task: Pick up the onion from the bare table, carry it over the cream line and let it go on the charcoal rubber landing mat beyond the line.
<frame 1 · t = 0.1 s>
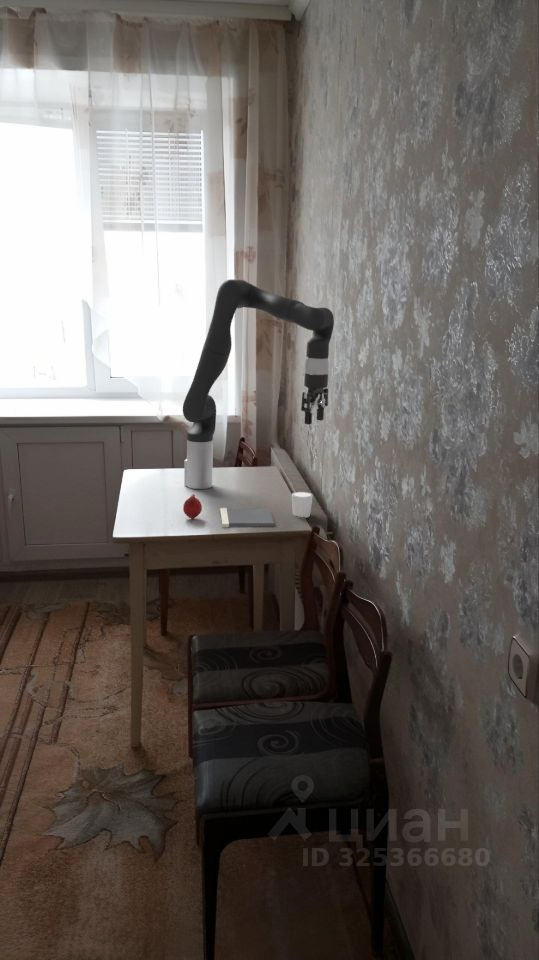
hand: (314, 422, 242), 29 cm above the table, tool pointing down, fingers open, 8 cm apart
onion: (192, 519, 235), on the table
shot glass: (301, 515, 243), on the table
landing mat: (246, 518, 237), on the table
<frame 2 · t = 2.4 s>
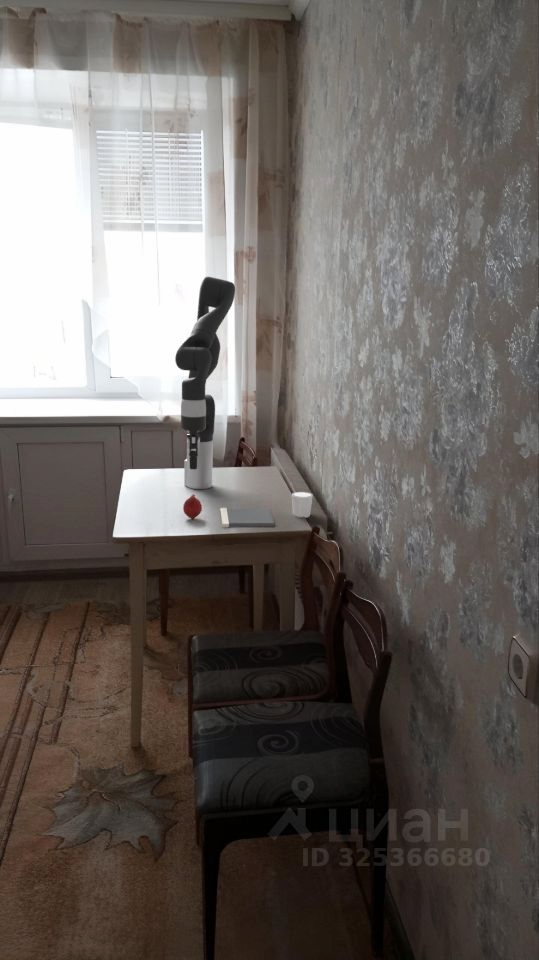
hand: (193, 465, 230), 17 cm above the table, tool pointing down, fingers open, 8 cm apart
nothing on the table moved.
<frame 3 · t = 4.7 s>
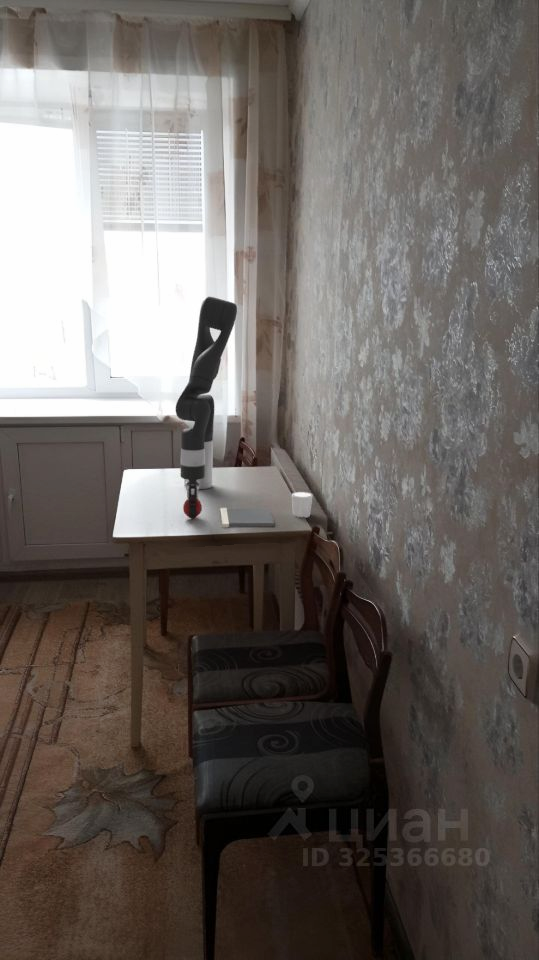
hand: (192, 514, 235), 2 cm above the table, tool pointing down, fingers closed on onion, 6 cm apart
onion: (192, 519, 235), on the table, touching gripper
everything else where it was.
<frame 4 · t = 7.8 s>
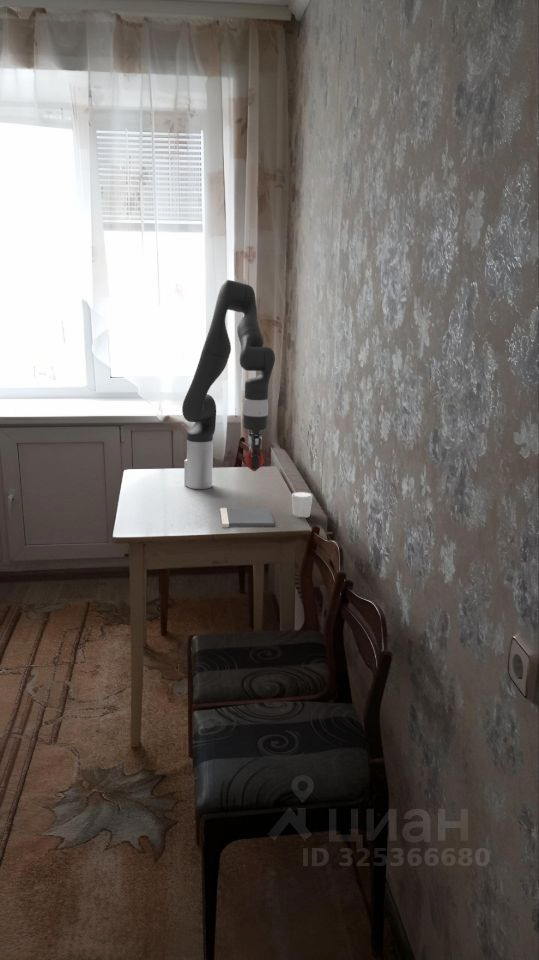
hand: (254, 466, 232), 17 cm above the table, tool pointing down, fingers closed on onion, 6 cm apart
onion: (254, 471, 233), point 15 cm above the table, touching gripper
everything else where it was.
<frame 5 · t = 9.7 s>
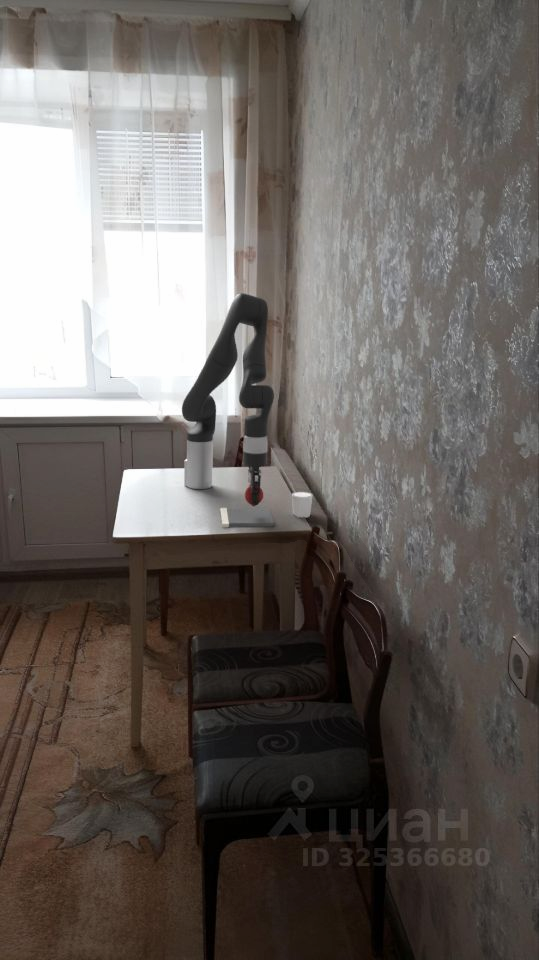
hand: (253, 501, 236), 6 cm above the table, tool pointing down, fingers closed on onion, 6 cm apart
onion: (253, 506, 236), point 4 cm above the table, touching gripper
everything else where it was.
when the fingers open (4 cm above the table, at t = 11.1 s): onion drops 1 cm, resting on landing mat.
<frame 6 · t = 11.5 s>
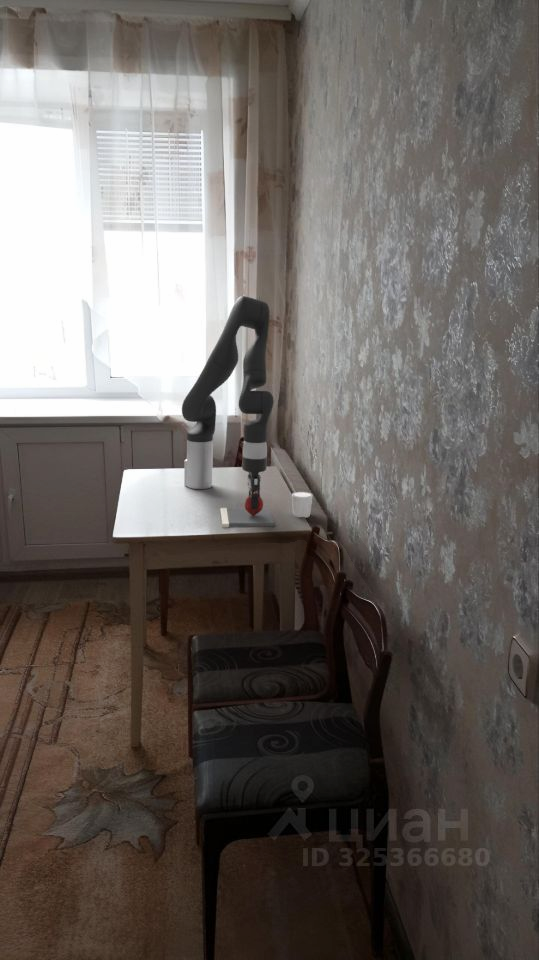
hand: (253, 505, 236), 5 cm above the table, tool pointing down, fingers open, 8 cm apart
onion: (252, 516, 237), point 1 cm above the table, touching landing mat
everything else where it was.
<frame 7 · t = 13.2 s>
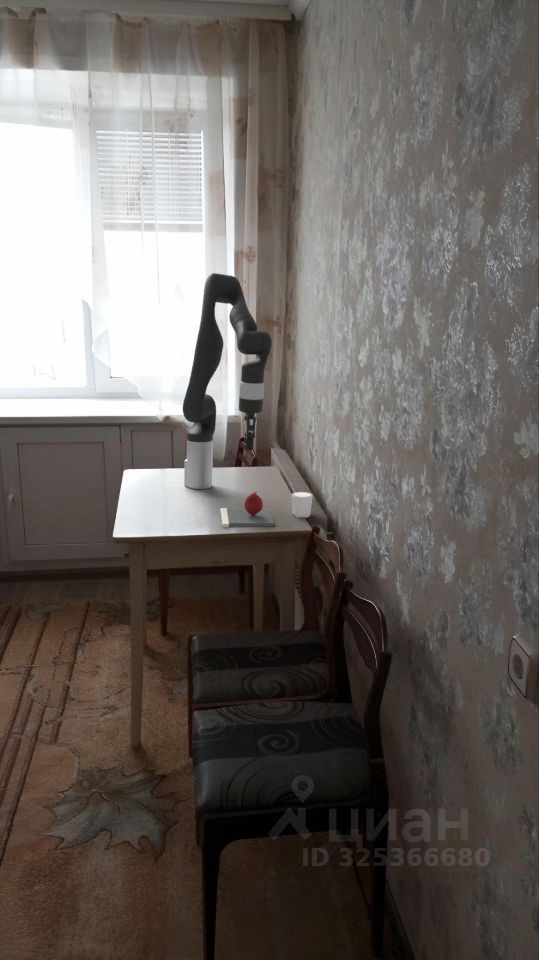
hand: (248, 446, 237), 22 cm above the table, tool pointing down, fingers open, 8 cm apart
nothing on the table moved.
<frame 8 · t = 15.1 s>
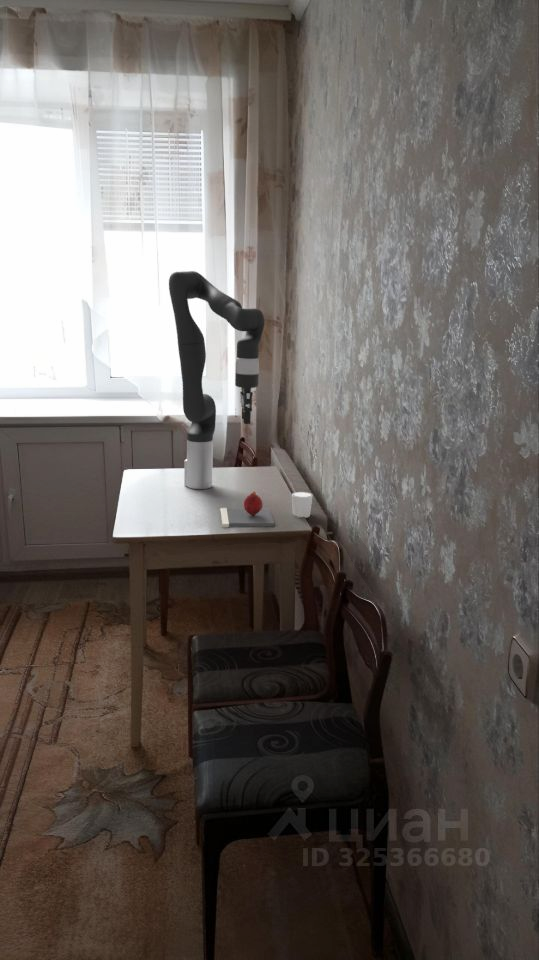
hand: (245, 421, 246), 28 cm above the table, tool pointing down, fingers open, 8 cm apart
nothing on the table moved.
at the end: onion 2.0 cm from the landing mat (horizontally); onion tilted 0°; the gripper is holding nothing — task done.
